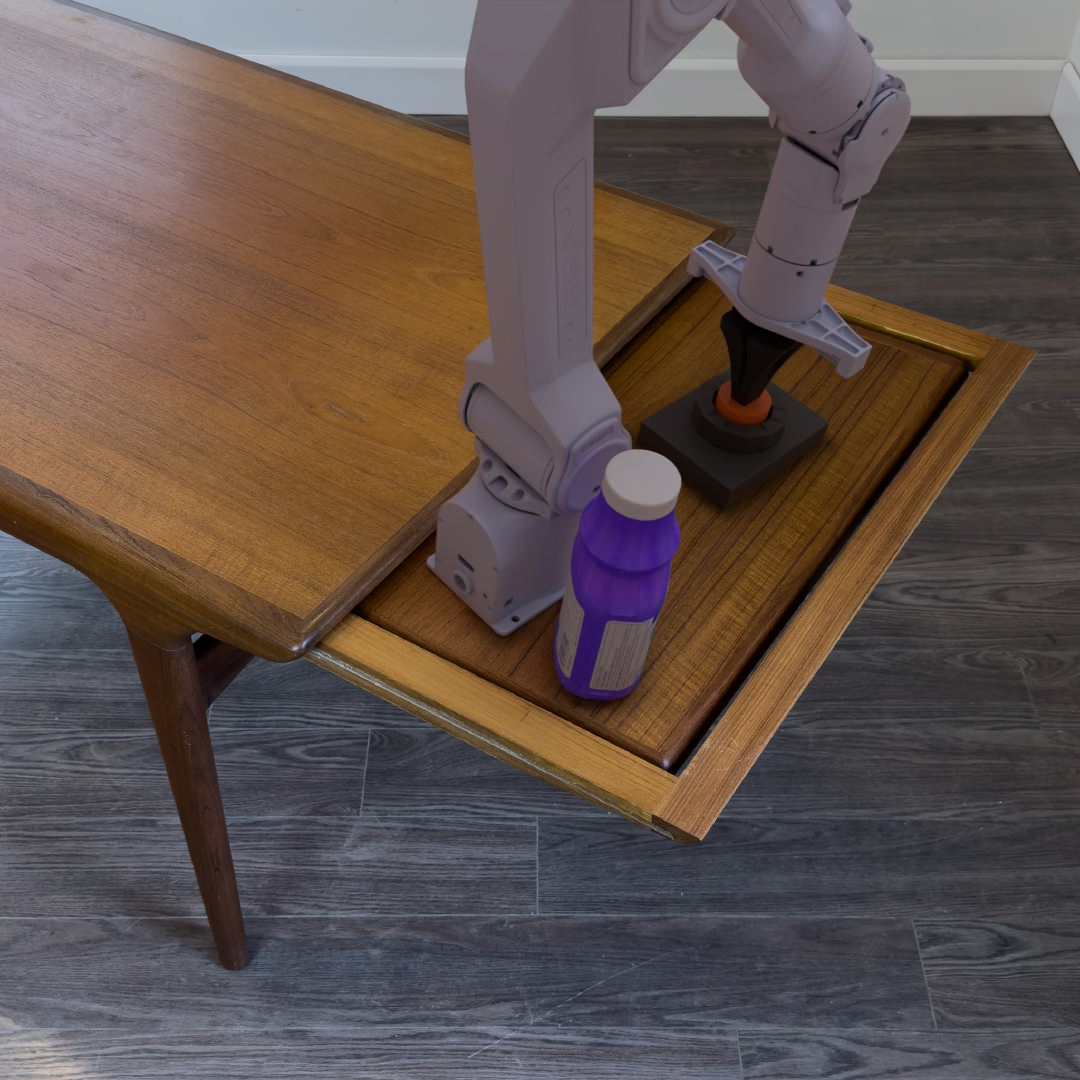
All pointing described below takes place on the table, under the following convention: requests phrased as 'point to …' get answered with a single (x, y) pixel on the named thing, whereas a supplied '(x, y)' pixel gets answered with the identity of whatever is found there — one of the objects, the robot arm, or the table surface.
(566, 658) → the bottle
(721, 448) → the button base
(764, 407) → the push button
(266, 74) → the table surface
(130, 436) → the table surface
